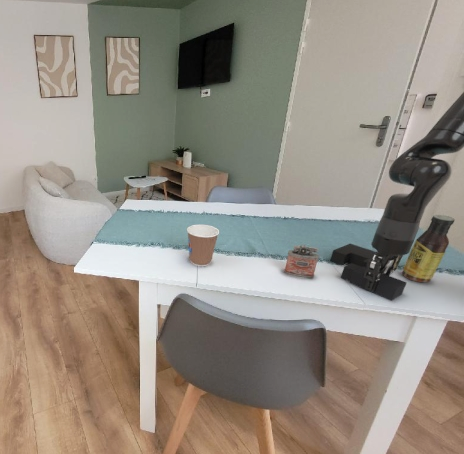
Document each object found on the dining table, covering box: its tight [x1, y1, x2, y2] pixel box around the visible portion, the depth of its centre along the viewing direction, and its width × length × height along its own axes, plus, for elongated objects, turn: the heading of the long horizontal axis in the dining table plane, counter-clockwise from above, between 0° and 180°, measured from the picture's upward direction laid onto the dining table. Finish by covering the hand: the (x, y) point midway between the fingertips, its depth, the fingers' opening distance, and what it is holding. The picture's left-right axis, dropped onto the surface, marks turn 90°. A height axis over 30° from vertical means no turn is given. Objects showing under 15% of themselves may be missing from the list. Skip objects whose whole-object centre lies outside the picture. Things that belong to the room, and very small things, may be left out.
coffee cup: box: [186, 224, 220, 267], centre depth 100 cm, size 10×10×12 cm
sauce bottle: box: [402, 214, 456, 283], centre depth 83 cm, size 7×6×20 cm
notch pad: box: [329, 243, 380, 270], centre depth 94 cm, size 12×10×4 cm
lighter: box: [283, 244, 320, 280], centre depth 90 cm, size 8×3×10 cm, turn 65°
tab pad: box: [340, 263, 407, 301], centre depth 84 cm, size 6×13×4 cm, turn 26°
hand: (374, 286), depth 83 cm, fingers closed on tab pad, 5 cm apart
